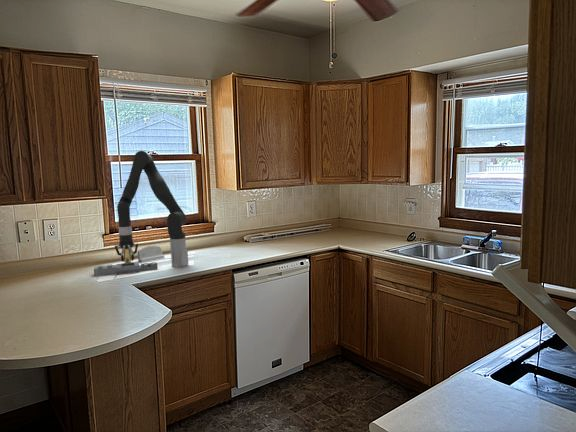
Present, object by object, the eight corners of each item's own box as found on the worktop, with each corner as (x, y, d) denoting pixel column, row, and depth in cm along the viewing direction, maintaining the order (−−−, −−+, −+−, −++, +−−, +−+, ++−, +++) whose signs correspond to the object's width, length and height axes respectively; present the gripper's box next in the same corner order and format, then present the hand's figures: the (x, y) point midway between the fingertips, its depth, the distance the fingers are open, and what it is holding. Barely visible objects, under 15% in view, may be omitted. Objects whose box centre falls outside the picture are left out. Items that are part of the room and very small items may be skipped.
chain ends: (157, 266, 269) (156, 258, 268) (158, 269, 259) (157, 261, 258) (95, 272, 257) (94, 264, 256) (94, 277, 247) (93, 268, 247)
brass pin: (133, 266, 270) (131, 247, 268) (128, 268, 266) (126, 248, 264) (128, 266, 271) (126, 247, 270) (123, 267, 268) (121, 248, 266)
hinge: (141, 262, 280) (137, 247, 281) (138, 264, 283) (135, 249, 285) (165, 258, 291) (161, 243, 293) (162, 259, 295) (158, 245, 296)
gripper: (137, 231, 272) (139, 258, 274) (113, 233, 267) (115, 261, 269) (138, 233, 265) (140, 261, 267) (112, 235, 260) (115, 263, 262)
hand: (127, 260), depth 268 cm, fingers open, 4 cm apart
